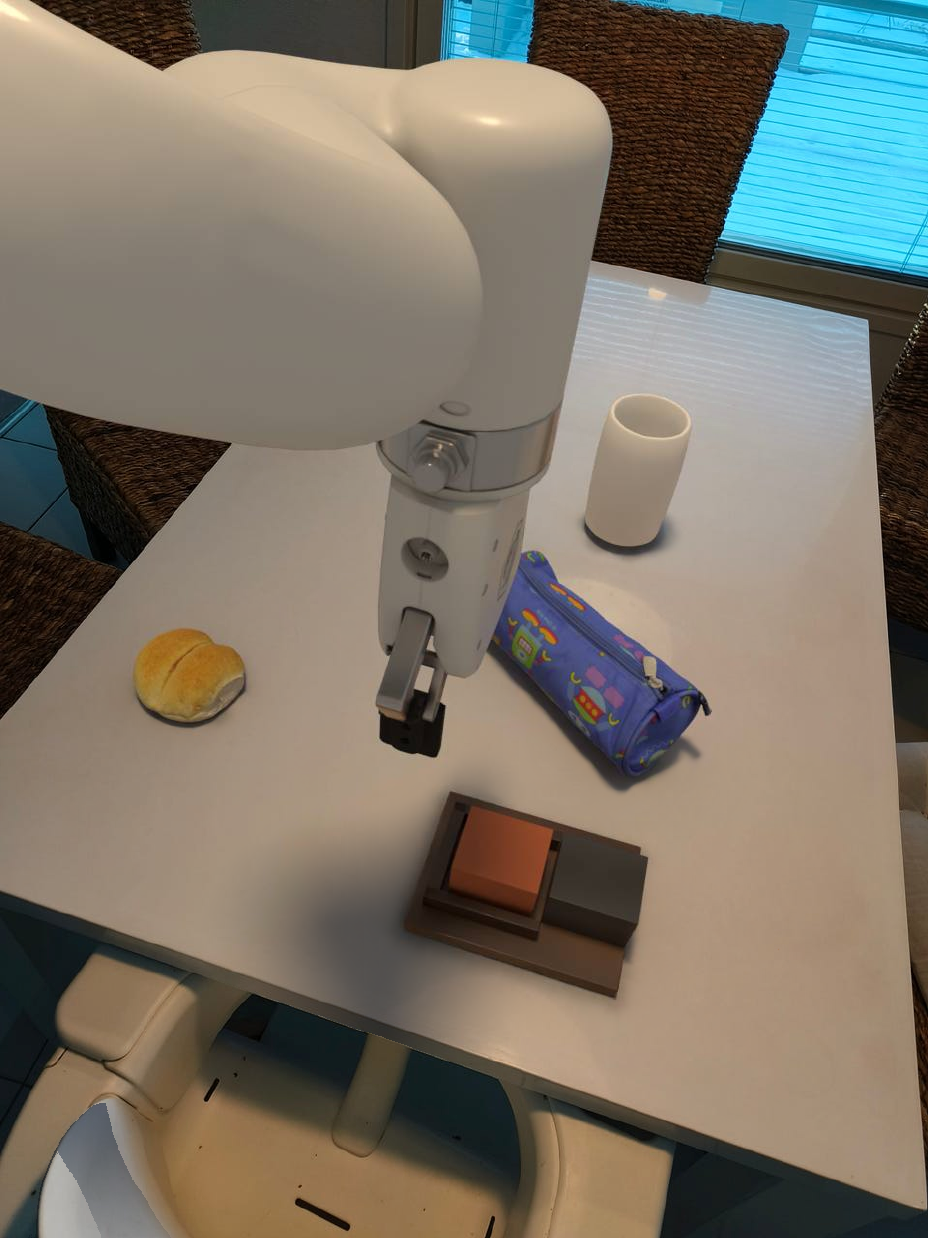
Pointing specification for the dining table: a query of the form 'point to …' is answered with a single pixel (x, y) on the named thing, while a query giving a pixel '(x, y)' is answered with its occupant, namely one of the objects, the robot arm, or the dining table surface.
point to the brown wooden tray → (539, 903)
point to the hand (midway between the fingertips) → (438, 678)
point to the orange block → (500, 861)
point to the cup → (636, 468)
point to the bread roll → (187, 675)
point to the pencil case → (594, 669)
